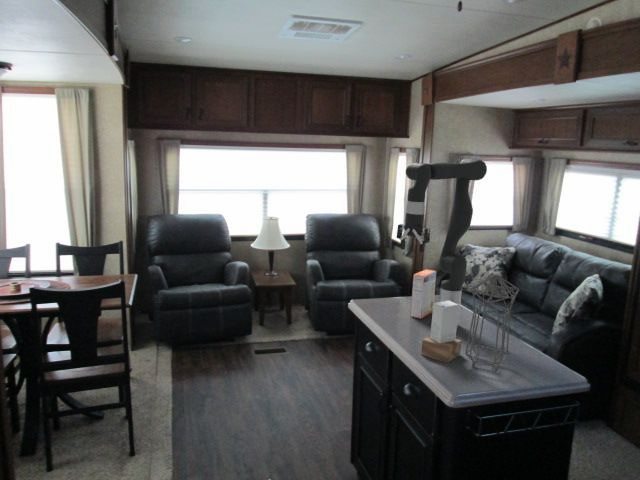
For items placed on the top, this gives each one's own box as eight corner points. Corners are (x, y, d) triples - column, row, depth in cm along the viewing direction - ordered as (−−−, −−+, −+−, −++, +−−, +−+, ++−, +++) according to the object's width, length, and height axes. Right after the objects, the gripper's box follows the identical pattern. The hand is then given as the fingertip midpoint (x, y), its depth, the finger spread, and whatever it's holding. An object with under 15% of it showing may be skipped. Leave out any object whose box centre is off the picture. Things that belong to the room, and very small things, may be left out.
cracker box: (422, 309, 259) (425, 268, 256) (433, 312, 256) (437, 270, 252) (409, 316, 248) (413, 273, 244) (421, 319, 245) (425, 275, 241)
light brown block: (434, 347, 211) (435, 332, 210) (460, 354, 204) (461, 340, 203) (421, 354, 203) (422, 339, 202) (447, 362, 196) (448, 347, 195)
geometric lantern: (469, 354, 205) (479, 267, 199) (511, 364, 198) (522, 274, 191) (458, 368, 192) (468, 275, 186) (503, 379, 184) (514, 282, 178)
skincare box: (445, 336, 207) (449, 299, 204) (456, 341, 202) (460, 304, 199) (429, 339, 203) (432, 302, 200) (439, 344, 198) (443, 306, 195)
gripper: (435, 213, 214) (431, 252, 217) (404, 209, 223) (401, 247, 226) (426, 215, 208) (422, 255, 211) (395, 210, 217) (392, 249, 220)
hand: (411, 250), depth 218 cm, fingers open, 8 cm apart
